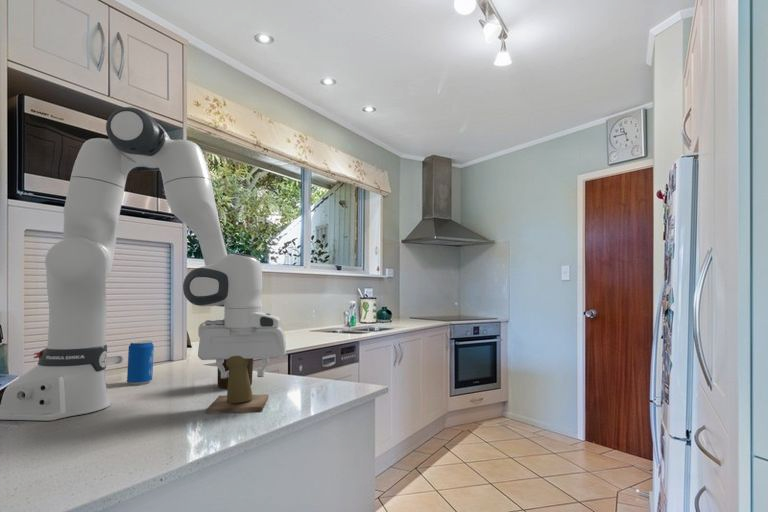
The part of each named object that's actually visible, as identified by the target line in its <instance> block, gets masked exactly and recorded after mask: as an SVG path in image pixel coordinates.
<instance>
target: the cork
mask: <svg viewBox="0 0 768 512" xmlns="http://www.w3.org/2000/svg"><path fill="white" fill-rule="evenodd" d="M248 361H249V359H244V358H243V357H241V356H232V357H230V358H229V359H226V365H227V367H228V368H229V375H228V389H227V393H226V395H227V403H241V402H246V401H249V400H251V399H253V395H254V394H253V391H252V387H251V386H252V384H251V385H250V380H249V375H248V370H247V365H248Z"/></svg>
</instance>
